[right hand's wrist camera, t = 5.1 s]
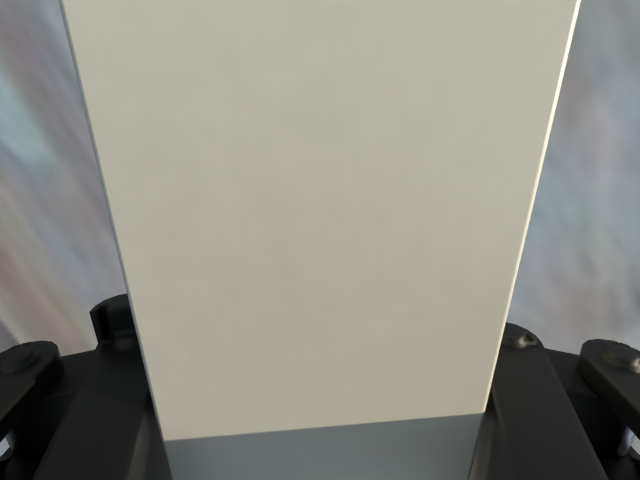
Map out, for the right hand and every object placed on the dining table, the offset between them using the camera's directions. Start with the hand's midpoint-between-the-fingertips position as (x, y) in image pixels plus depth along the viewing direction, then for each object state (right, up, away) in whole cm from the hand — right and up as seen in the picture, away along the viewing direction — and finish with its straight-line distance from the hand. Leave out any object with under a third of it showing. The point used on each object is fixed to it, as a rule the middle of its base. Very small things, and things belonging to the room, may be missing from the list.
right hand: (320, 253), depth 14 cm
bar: (0, +8, -3) cm, 9 cm away
